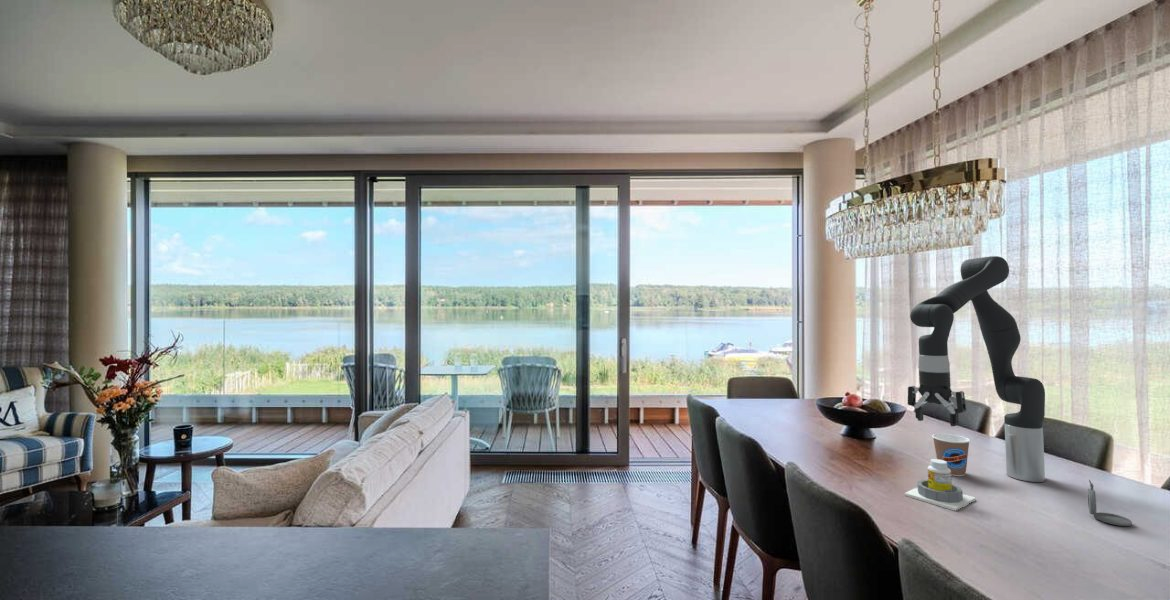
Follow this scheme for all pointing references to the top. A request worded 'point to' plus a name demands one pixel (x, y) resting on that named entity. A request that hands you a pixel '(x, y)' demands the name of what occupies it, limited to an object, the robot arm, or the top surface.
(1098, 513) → the pocket watch
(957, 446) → the coffee cup
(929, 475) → the supplement bottle
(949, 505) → the ring holder
